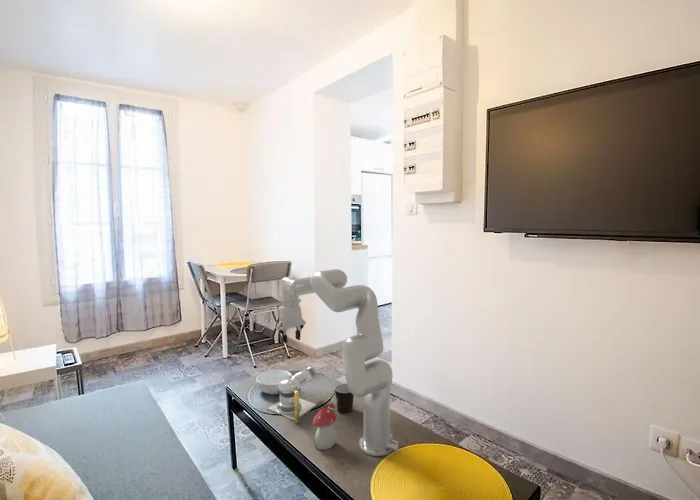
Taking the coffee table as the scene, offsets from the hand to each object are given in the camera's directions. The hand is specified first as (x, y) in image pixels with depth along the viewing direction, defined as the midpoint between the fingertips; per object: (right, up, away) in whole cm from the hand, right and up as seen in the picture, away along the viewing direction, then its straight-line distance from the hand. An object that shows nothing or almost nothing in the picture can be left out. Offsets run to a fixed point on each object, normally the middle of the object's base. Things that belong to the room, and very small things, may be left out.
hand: (291, 340), depth 171 cm
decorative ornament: (+18, -29, -37) cm, 51 cm away
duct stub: (+3, -27, -12) cm, 30 cm away
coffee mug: (+25, -27, -12) cm, 39 cm away
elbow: (+4, -18, -9) cm, 21 cm away
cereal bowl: (-9, -26, +5) cm, 28 cm away
